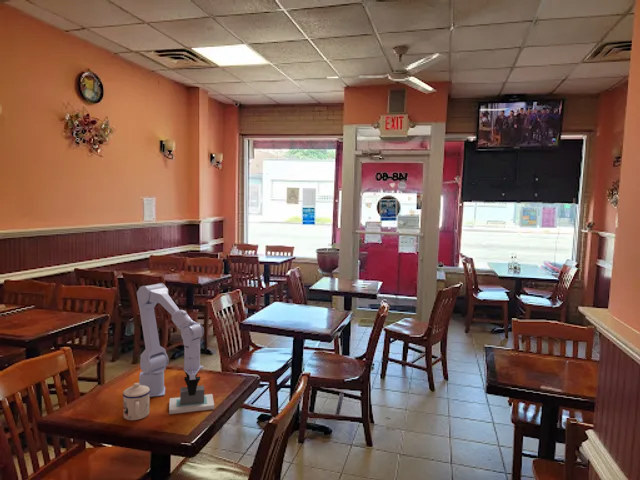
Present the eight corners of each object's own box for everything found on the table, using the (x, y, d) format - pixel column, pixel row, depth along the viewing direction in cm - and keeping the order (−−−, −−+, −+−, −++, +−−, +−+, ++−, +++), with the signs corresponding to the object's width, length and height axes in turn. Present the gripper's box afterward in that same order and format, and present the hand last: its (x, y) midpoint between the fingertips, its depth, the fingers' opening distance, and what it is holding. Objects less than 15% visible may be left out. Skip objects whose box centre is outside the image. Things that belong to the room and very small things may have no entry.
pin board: (169, 414, 155) (169, 401, 155) (169, 402, 164) (169, 390, 164) (214, 409, 160) (214, 397, 160) (212, 397, 170) (212, 386, 169)
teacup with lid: (122, 411, 156) (122, 380, 155) (149, 407, 160) (149, 377, 159) (122, 427, 145) (122, 394, 144) (151, 422, 149) (151, 390, 148)
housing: (180, 405, 159) (180, 392, 158) (180, 400, 163) (180, 387, 162) (204, 402, 162) (204, 389, 161) (203, 397, 166) (203, 385, 165)
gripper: (204, 361, 155) (203, 397, 156) (202, 348, 169) (201, 382, 170) (183, 363, 153) (183, 400, 154) (183, 350, 167) (183, 383, 168)
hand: (191, 390), depth 162 cm, fingers open, 7 cm apart
